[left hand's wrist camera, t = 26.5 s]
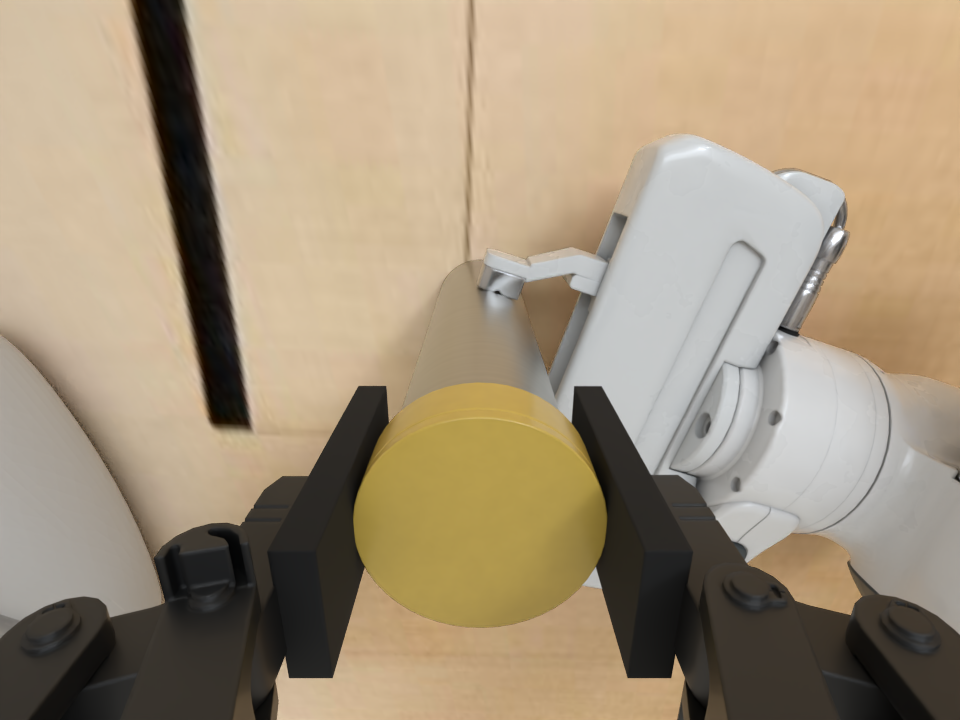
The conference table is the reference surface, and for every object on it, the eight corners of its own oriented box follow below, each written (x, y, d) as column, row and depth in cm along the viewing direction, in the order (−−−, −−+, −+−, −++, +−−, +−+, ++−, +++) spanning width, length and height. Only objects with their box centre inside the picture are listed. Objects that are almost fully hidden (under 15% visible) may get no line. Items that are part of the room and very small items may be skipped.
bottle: (534, 318, 29) (614, 541, 12) (462, 352, 30) (437, 610, 12) (499, 244, 28) (531, 375, 10) (424, 282, 29) (337, 463, 11)
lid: (610, 392, 11) (632, 430, 10) (570, 579, 13) (583, 637, 12) (373, 369, 11) (355, 404, 10) (365, 561, 13) (349, 618, 11)
